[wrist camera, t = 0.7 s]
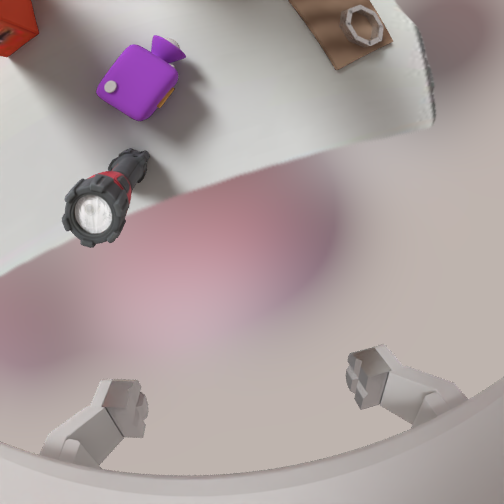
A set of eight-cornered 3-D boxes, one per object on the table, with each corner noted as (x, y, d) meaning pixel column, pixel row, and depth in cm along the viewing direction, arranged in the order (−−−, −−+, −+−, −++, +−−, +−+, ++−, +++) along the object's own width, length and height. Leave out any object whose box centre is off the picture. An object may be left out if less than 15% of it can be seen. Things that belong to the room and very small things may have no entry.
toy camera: (195, 55, 39) (199, 43, 30) (157, 124, 43) (152, 128, 35) (139, 33, 34) (131, 17, 26) (103, 103, 39) (85, 103, 30)
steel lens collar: (332, 15, 38) (338, 12, 36) (361, 4, 37) (368, 1, 35) (354, 51, 43) (361, 50, 41) (382, 38, 42) (389, 37, 40)
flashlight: (102, 185, 46) (58, 243, 26) (110, 143, 43) (63, 175, 23) (142, 192, 48) (122, 256, 29) (152, 151, 45) (133, 188, 26)
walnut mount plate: (278, -12, 34) (280, -14, 34) (342, -33, 33) (344, -35, 32) (335, 70, 45) (338, 69, 44) (390, 41, 43) (393, 41, 42)
